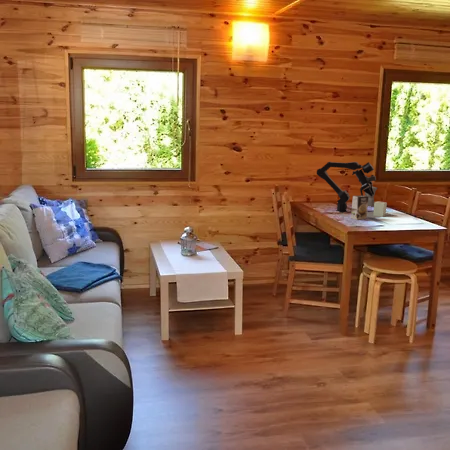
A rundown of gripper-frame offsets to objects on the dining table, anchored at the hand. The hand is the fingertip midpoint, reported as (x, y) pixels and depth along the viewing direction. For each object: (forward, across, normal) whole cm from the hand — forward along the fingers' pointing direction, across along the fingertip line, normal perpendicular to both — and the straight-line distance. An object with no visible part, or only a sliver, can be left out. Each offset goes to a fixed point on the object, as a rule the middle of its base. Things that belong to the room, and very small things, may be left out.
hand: (372, 195), depth 383 cm
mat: (+14, -3, +5) cm, 15 cm away
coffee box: (+8, -24, +13) cm, 28 cm away
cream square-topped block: (+15, -6, +3) cm, 16 cm away
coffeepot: (+7, +38, +15) cm, 42 cm away
